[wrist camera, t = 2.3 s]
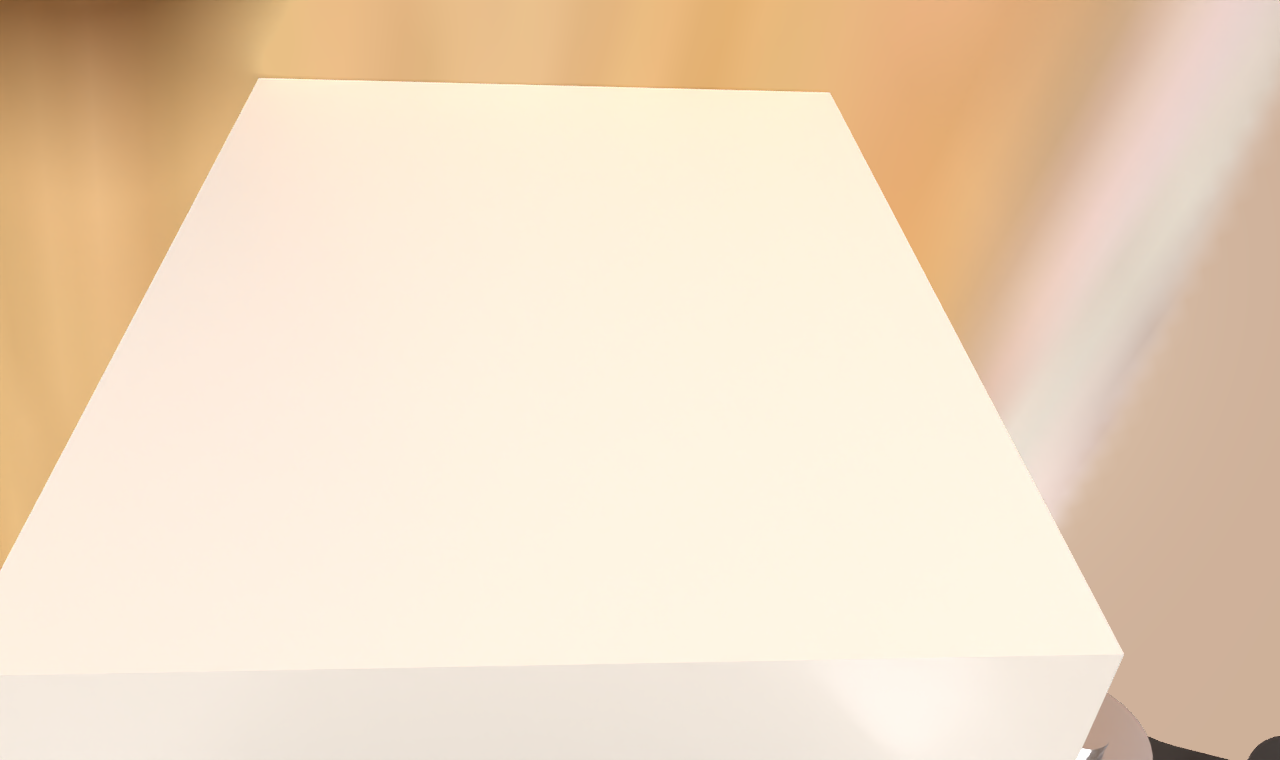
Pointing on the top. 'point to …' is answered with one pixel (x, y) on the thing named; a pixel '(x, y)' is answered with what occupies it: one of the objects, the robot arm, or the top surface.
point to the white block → (543, 459)
